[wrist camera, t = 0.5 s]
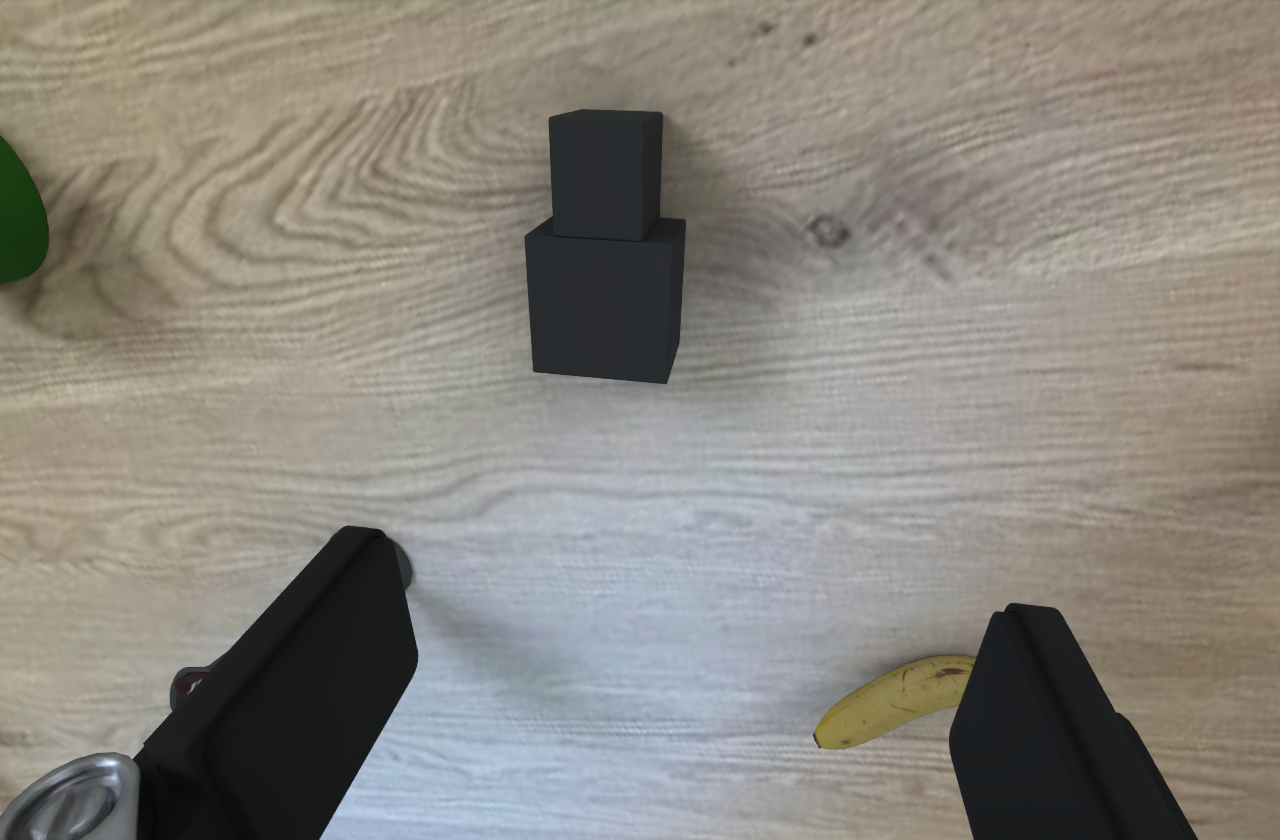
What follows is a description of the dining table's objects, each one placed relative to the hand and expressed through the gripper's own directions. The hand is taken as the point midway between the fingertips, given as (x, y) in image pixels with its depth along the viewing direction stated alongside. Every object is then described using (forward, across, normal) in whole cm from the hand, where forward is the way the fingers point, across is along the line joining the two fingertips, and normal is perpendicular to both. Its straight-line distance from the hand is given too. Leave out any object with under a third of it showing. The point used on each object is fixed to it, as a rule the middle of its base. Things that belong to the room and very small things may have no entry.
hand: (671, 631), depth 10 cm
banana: (+18, -10, +19) cm, 28 cm away
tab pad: (+17, +4, -2) cm, 18 cm away
